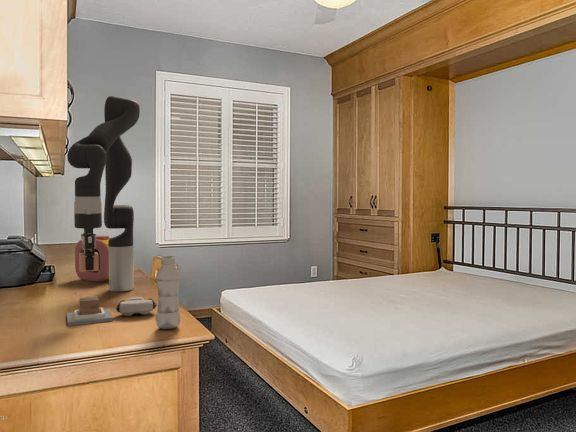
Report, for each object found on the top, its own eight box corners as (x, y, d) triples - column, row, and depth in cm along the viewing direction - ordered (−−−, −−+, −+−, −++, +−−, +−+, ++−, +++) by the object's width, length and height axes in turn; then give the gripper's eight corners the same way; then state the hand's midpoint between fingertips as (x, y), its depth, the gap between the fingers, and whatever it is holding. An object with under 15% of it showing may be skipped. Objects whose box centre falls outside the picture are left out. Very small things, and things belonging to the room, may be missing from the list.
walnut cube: (79, 314, 140) (79, 297, 140) (97, 312, 143) (97, 296, 142) (80, 317, 136) (80, 301, 136) (98, 316, 138) (98, 299, 138)
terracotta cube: (79, 269, 140) (79, 253, 140) (97, 268, 142) (97, 252, 142) (80, 271, 135) (80, 254, 135) (98, 270, 138) (98, 253, 137)
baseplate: (67, 315, 142) (66, 309, 142) (108, 311, 147) (108, 305, 147) (67, 325, 131) (67, 318, 131) (112, 320, 137) (112, 314, 137)
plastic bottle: (158, 325, 132) (157, 255, 131) (182, 324, 132) (182, 255, 132) (153, 331, 126) (152, 258, 125) (178, 331, 126) (178, 258, 125)
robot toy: (116, 311, 152) (114, 319, 138) (116, 297, 152) (114, 304, 138) (155, 308, 156) (157, 316, 142) (155, 295, 156) (157, 301, 142)
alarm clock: (73, 280, 202) (72, 236, 201) (93, 276, 212) (92, 234, 211) (106, 283, 195) (105, 237, 194) (124, 279, 205) (124, 235, 204)
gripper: (73, 211, 143) (74, 266, 143) (75, 212, 130) (76, 273, 131) (99, 211, 146) (100, 264, 147) (103, 212, 133) (104, 271, 134)
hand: (89, 268), depth 139 cm, fingers closed on terracotta cube, 5 cm apart
